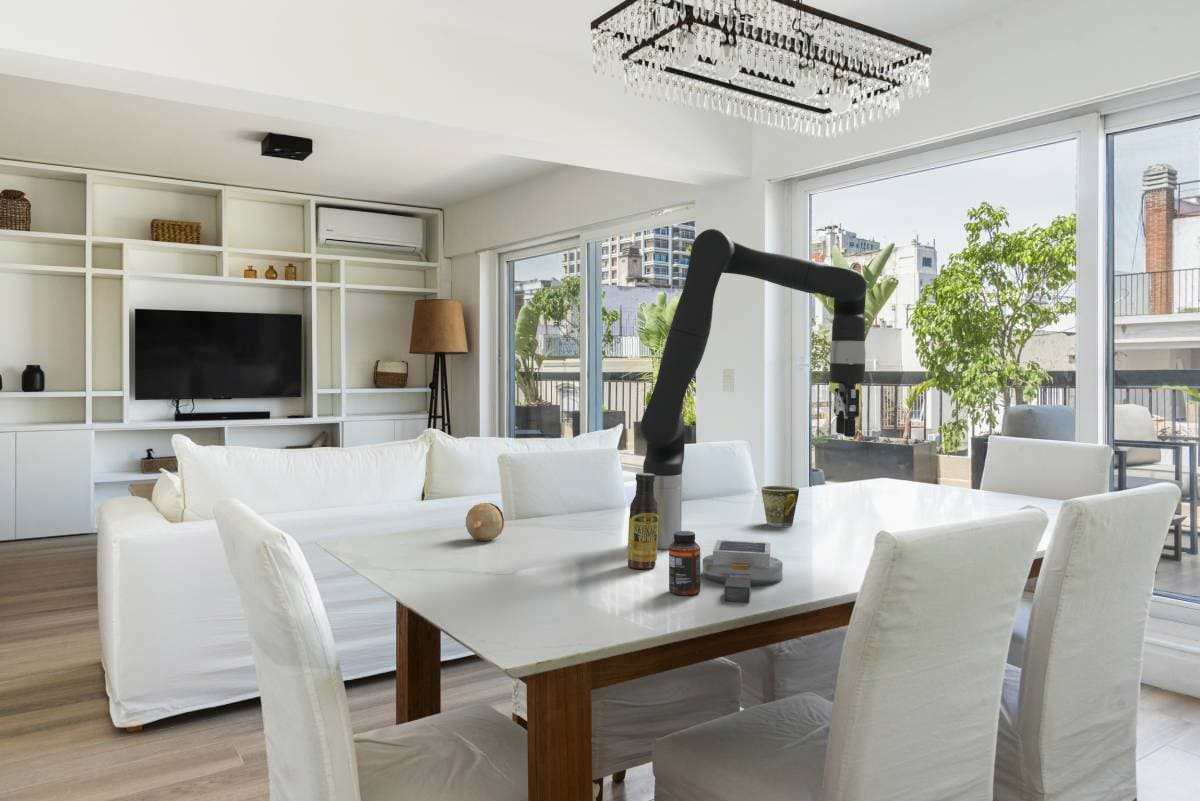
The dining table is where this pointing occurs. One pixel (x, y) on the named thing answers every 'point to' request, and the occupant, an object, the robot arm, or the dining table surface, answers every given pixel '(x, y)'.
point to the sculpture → (485, 521)
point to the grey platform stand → (741, 568)
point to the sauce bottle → (643, 524)
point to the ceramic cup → (780, 504)
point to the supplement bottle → (684, 564)
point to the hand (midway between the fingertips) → (845, 435)
